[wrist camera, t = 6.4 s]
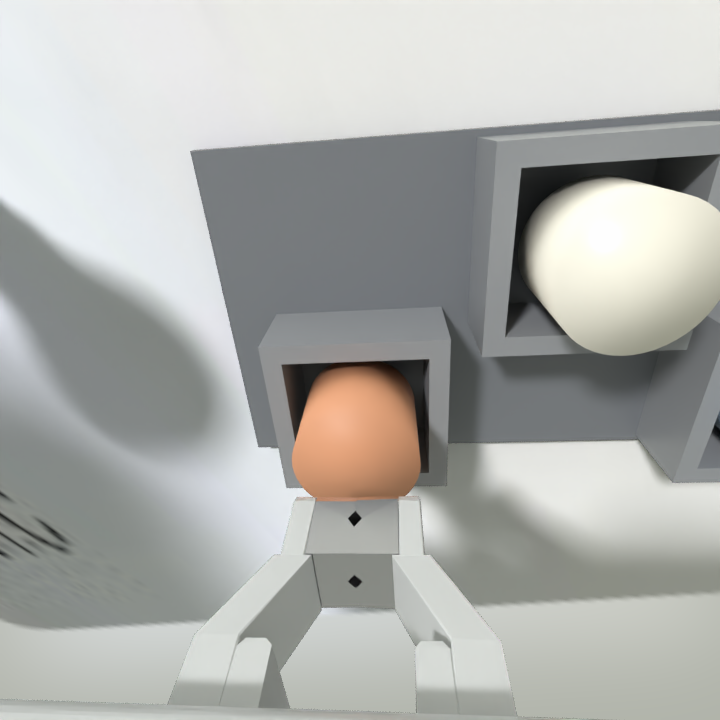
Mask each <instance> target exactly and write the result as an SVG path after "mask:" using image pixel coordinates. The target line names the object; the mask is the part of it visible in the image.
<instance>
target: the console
mask: <svg viewBox="0 0 720 720" xmlns="http://www.w3.org/2000/svg"><path fill="white" fill-rule="evenodd" d="M190 152H191V156H192V161H193V165H194V169H195V174H196V178H197V182H198V187H199V191H200V195H201V200H202V204H203V208H204V213H205V217H206V221H207V226H208V230H209V234H210V239H211V243H212V247H213V252H214V256H215V260H216V265H217V269H218V273H219V278H220V282H221V286H222V291H223V295H224V299H225V304H226V308H227V312H228V317H229V321H230V325H231V330H232V334H233V338H234V343H235V347H236V351H237V356H238V360H239V364H240V369H241V373H242V377H243V382H244V386H245V390H246V395H247V399H248V403H249V408H250V412H251V416H252V421H253V425H254V429H255V434H256V438H257V442H258V447H278V448H279V453H280V458H281V463H282V468H283V473H284V478H285V483H286V487H287V488H303V487H302V486H301V484H300V483H299V481H298V480H297V478H296V476H295V473H294V470H293V467H292V453H293V448H294V445H295V441H296V438H297V434H298V431H299V427H300V423H301V420H302V416H303V413H304V409H305V406H306V402H307V399H308V395H309V391H310V388H311V386H312V383H313V382H314V380H315V378H316V377H317V376H318V375H319V374H320V373H321V372H322V371H323V370H324V369H325V368H327V367H328V366H330V365H332V364H334V363H337V362H364V361H381V362H384V363H386V364H388V365H390V366H392V367H394V368H395V369H396V370H398V371H399V372H400V373H401V374H402V375H403V376H404V377H405V378H406V380H407V381H408V383H409V384H410V386H411V388H412V391H413V394H414V401H415V411H416V421H417V431H418V441H419V451H420V462H421V467H420V473H419V477H418V479H417V482H416V484H415V485H414V486H446V484H447V452H448V443H482V442H529V441H576V440H623V439H639V440H640V442H641V443H642V444H643V445H644V447H645V448H646V449H647V450H648V452H649V453H650V454H651V456H652V457H653V458H654V459H655V461H656V462H657V463H658V464H659V466H660V467H661V468H662V470H663V471H664V472H665V473H666V475H667V476H668V477H669V479H670V480H671V481H672V482H673V483H688V482H720V429H719V428H718V427H717V426H716V425H715V422H716V419H717V417H718V414H719V411H720V300H719V301H718V303H717V304H716V306H715V307H714V308H713V310H712V311H711V312H710V313H709V314H708V315H707V316H706V317H705V318H704V319H703V320H702V321H701V322H700V323H699V324H698V325H697V326H696V327H694V328H693V329H692V330H691V331H689V332H688V333H687V334H685V335H683V336H682V337H680V338H679V339H677V340H675V341H673V342H671V343H670V344H668V345H665V346H663V347H661V348H658V349H656V350H652V351H649V352H646V353H641V354H636V355H627V356H612V355H605V354H600V353H596V352H593V351H591V350H588V349H586V348H584V347H582V346H581V345H579V344H577V343H576V342H575V341H574V340H572V339H571V338H570V337H569V336H568V335H567V333H566V332H565V331H564V330H563V329H562V327H561V326H560V325H559V324H558V323H557V321H556V320H555V319H554V318H553V317H552V315H551V314H550V313H549V312H548V311H547V309H546V308H545V307H544V306H543V305H542V303H541V302H540V301H539V300H538V299H537V297H536V296H535V295H534V294H533V293H532V291H531V290H530V289H529V288H528V287H527V285H526V283H525V282H524V280H523V278H522V275H521V273H520V269H519V264H518V248H519V242H520V238H521V235H522V232H523V229H524V227H525V225H526V223H527V221H528V219H529V218H530V216H531V215H532V213H533V212H534V211H535V209H536V208H537V207H538V206H539V205H540V203H541V202H542V201H543V200H544V199H545V198H547V197H548V196H549V195H550V194H551V193H553V192H554V191H556V190H557V189H558V188H560V187H562V186H564V185H565V184H567V183H569V182H572V181H574V180H577V179H580V178H583V177H587V176H593V175H612V176H618V177H622V178H626V179H630V180H634V181H638V182H641V183H645V184H649V185H653V186H657V187H661V188H665V189H669V190H673V191H677V192H681V193H685V194H688V195H692V196H695V197H698V198H700V199H702V200H704V201H706V202H708V203H710V204H711V205H712V206H714V207H715V208H716V209H717V210H718V211H719V212H720V110H707V111H694V112H681V113H668V114H656V115H643V116H630V117H617V118H604V119H591V120H578V121H565V122H552V123H539V124H526V125H514V126H501V127H488V128H475V129H462V130H449V131H436V132H423V133H410V134H397V135H385V136H372V137H359V138H346V139H333V140H320V141H307V142H294V143H281V144H268V145H255V146H243V147H230V148H217V149H204V150H194V151H190Z"/></svg>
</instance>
